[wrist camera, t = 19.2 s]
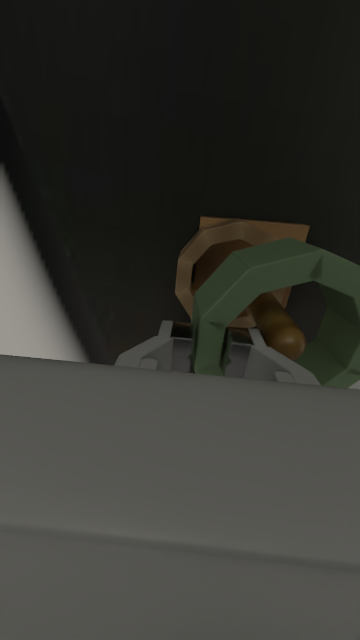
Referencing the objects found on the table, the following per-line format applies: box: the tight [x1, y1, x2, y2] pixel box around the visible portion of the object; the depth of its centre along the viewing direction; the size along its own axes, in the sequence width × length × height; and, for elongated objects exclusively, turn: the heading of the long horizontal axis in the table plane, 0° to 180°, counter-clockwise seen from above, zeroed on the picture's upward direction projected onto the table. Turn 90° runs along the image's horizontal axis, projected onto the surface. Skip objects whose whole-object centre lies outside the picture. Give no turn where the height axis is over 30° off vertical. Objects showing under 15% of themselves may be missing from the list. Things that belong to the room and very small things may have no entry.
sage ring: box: [191, 237, 360, 388], centre depth 13 cm, size 9×9×3 cm
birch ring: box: [175, 218, 286, 328], centre depth 21 cm, size 9×9×3 cm
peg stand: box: [194, 216, 310, 360], centre depth 17 cm, size 9×9×14 cm
